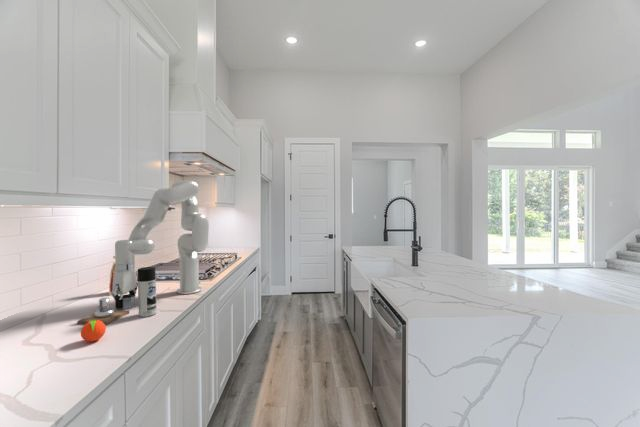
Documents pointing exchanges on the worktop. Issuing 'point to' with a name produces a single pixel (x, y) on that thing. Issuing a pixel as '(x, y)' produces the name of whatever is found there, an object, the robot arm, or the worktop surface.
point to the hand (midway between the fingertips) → (125, 305)
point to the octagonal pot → (128, 302)
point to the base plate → (106, 320)
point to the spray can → (146, 291)
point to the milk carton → (112, 278)
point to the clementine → (93, 330)
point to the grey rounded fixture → (104, 309)
